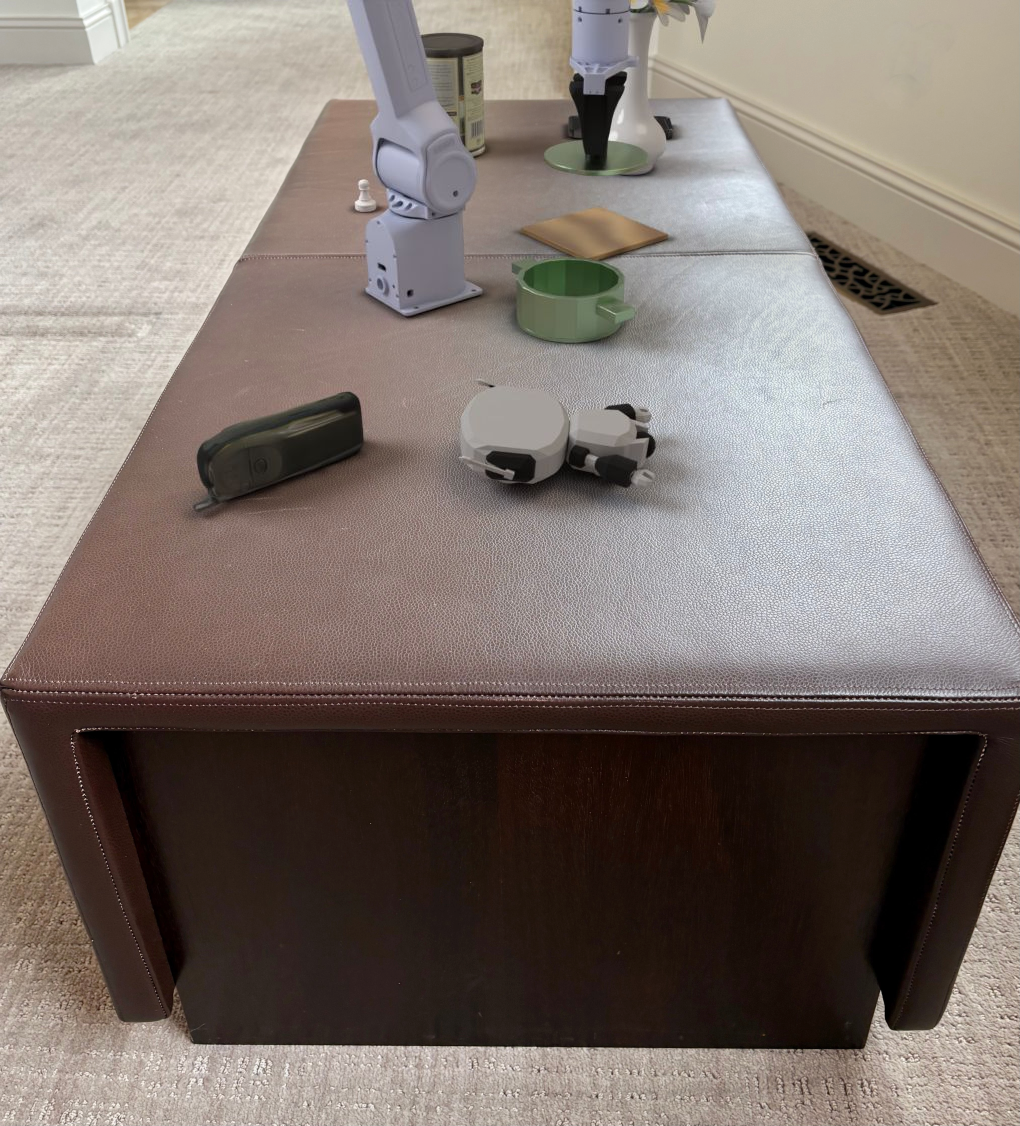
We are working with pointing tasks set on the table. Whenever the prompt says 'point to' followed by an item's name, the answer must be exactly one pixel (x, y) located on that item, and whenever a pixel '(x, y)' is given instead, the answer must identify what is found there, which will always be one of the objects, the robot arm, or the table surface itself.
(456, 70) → the coffee can
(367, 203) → the chess pawn
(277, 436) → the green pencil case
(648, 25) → the flower vase
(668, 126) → the phone
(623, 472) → the robot toy
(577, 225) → the trivet
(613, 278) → the pot
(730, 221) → the table surface
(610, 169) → the pot lid
